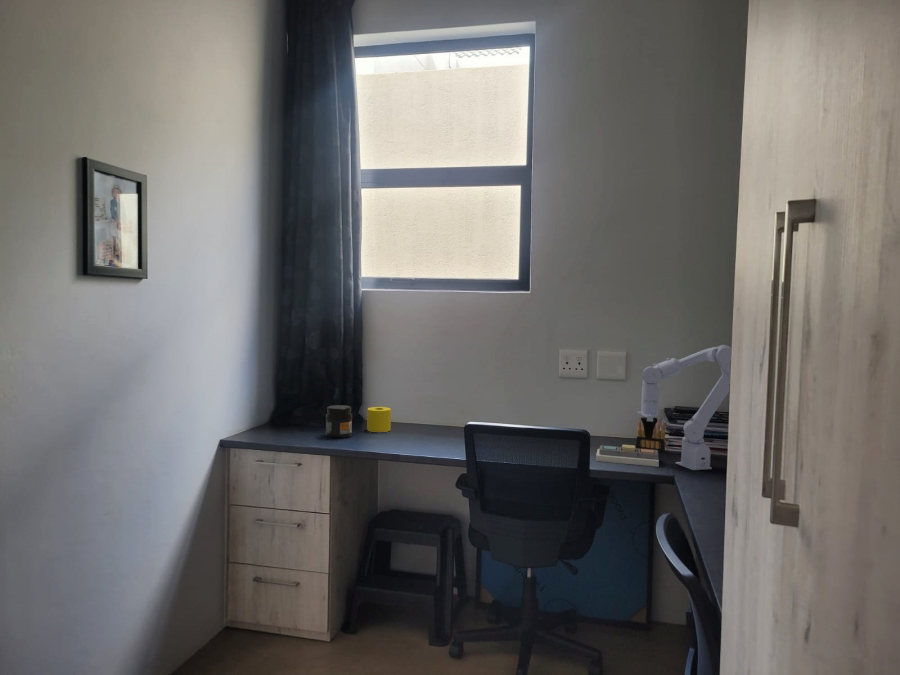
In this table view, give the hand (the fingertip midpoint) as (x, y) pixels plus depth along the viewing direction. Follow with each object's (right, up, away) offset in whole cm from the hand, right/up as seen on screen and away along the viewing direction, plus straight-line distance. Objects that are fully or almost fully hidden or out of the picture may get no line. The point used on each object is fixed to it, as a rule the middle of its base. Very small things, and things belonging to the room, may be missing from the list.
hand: (648, 438), depth 219 cm
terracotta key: (0, -6, 0) cm, 6 cm away
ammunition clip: (+7, -8, +18) cm, 21 cm away
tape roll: (-102, -4, +43) cm, 111 cm away
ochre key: (-7, -5, +1) cm, 9 cm away
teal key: (-13, -6, +3) cm, 15 cm away
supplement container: (-116, -4, +30) cm, 120 cm away
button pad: (-7, -8, +2) cm, 11 cm away
